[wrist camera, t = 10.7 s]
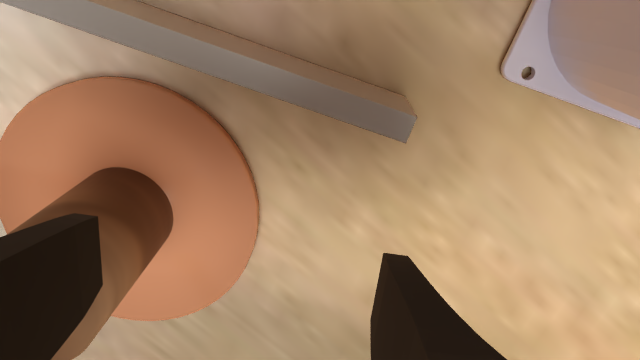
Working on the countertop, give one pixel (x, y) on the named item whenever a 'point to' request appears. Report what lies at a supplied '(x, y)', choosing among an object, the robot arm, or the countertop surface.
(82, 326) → the walnut cylinder
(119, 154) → the saucer
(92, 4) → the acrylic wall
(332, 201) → the countertop surface
